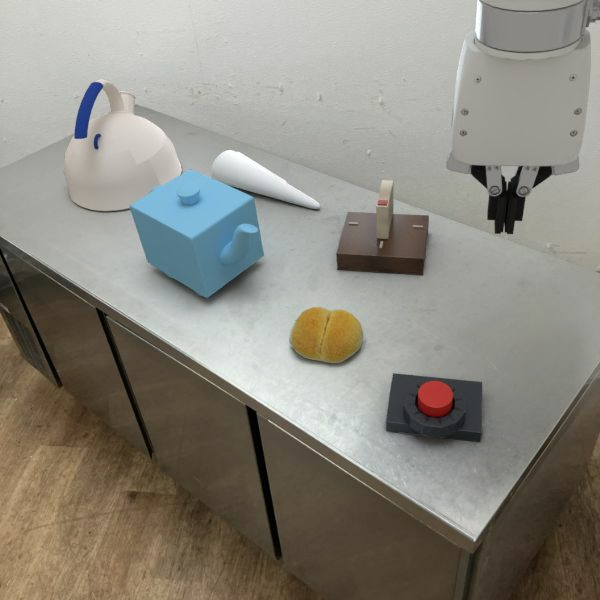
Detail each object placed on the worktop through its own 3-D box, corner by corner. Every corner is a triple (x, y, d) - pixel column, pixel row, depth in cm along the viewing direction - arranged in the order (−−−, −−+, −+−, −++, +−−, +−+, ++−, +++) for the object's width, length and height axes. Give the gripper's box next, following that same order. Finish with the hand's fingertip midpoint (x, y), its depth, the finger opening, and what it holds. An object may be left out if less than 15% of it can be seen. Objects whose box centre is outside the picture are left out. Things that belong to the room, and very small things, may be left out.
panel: (429, 222, 98) (430, 205, 96) (423, 275, 89) (423, 257, 87) (350, 218, 101) (349, 201, 98) (337, 269, 92) (335, 252, 90)
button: (452, 392, 70) (453, 382, 69) (451, 419, 67) (452, 409, 66) (419, 389, 71) (419, 379, 70) (416, 415, 68) (416, 405, 67)
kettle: (195, 149, 122) (173, 54, 109) (162, 213, 107) (133, 111, 95) (95, 150, 125) (63, 58, 113) (50, 212, 110) (7, 114, 98)
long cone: (295, 236, 101) (211, 187, 110) (321, 220, 105) (238, 173, 114) (297, 206, 97) (210, 157, 107) (324, 190, 101) (238, 144, 110)
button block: (481, 391, 74) (484, 371, 71) (480, 452, 68) (483, 432, 65) (393, 382, 76) (392, 362, 74) (384, 440, 70) (384, 421, 68)
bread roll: (356, 370, 78) (354, 347, 75) (285, 359, 80) (281, 337, 77) (370, 322, 83) (369, 300, 81) (303, 313, 86) (300, 291, 83)
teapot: (139, 264, 97) (112, 186, 88) (194, 227, 103) (175, 150, 93) (240, 326, 85) (221, 243, 76) (296, 281, 91) (286, 198, 82)
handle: (382, 211, 96) (382, 178, 92) (393, 212, 95) (393, 179, 92) (376, 238, 91) (376, 204, 87) (388, 239, 91) (387, 205, 87)
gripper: (632, -3, 48) (586, 203, 60) (427, 6, 51) (423, 200, 64) (651, 36, 43) (596, 254, 55) (421, 43, 46) (417, 247, 58)
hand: (503, 224), depth 59 cm, fingers closed
